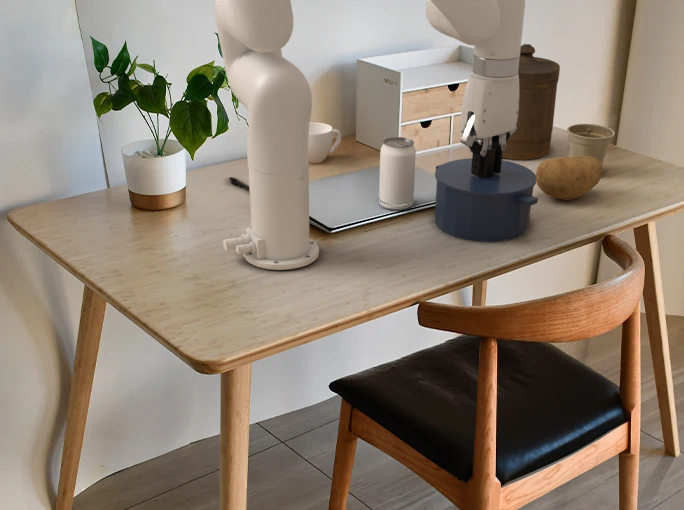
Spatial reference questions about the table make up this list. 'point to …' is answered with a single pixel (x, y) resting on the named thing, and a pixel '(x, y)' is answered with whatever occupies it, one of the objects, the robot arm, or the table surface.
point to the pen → (239, 183)
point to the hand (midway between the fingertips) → (485, 172)
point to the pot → (482, 214)
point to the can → (397, 173)
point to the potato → (568, 176)
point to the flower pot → (589, 140)
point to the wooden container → (533, 107)
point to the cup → (321, 141)
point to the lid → (494, 184)
